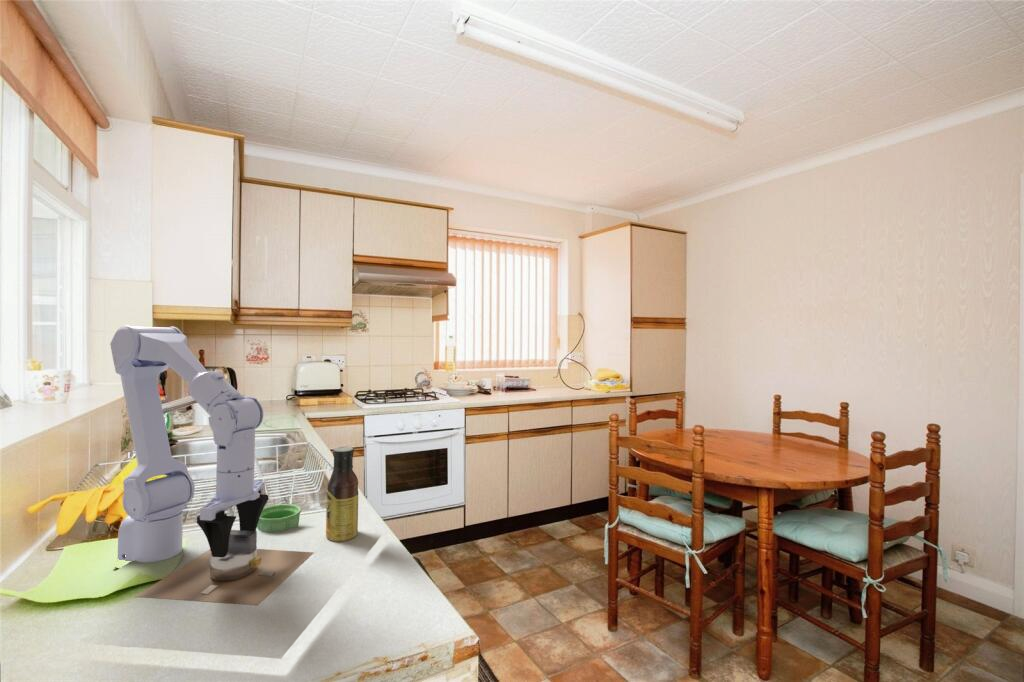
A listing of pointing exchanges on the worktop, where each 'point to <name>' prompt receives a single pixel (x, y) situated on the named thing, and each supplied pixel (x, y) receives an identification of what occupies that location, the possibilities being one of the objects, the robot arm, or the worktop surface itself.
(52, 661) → the worktop surface
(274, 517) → the ramekin
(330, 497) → the sauce bottle
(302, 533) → the worktop surface
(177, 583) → the baseplate
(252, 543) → the silver rounded piece
